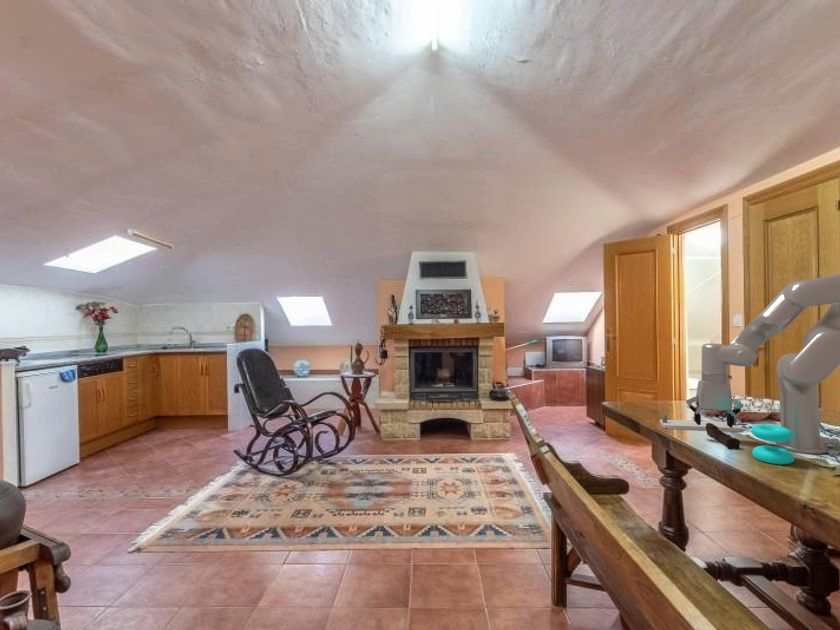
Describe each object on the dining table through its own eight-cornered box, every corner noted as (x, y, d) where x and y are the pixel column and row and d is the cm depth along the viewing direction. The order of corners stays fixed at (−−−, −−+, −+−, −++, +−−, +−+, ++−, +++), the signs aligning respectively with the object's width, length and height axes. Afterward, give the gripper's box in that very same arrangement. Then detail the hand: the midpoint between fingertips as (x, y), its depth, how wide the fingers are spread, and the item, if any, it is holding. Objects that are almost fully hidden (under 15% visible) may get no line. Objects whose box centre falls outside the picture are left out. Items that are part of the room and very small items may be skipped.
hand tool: (741, 450, 138) (740, 436, 138) (727, 449, 139) (726, 436, 139) (715, 434, 156) (715, 421, 156) (703, 433, 157) (703, 421, 157)
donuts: (801, 433, 122) (761, 432, 124) (802, 466, 122) (763, 465, 124) (781, 423, 131) (744, 423, 134) (782, 455, 131) (746, 453, 134)
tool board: (732, 425, 164) (732, 414, 164) (741, 432, 156) (741, 420, 156) (659, 423, 173) (659, 412, 173) (664, 428, 164) (664, 417, 164)
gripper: (738, 377, 149) (738, 424, 149) (683, 375, 154) (683, 420, 155) (747, 381, 142) (747, 430, 142) (689, 378, 147) (688, 426, 148)
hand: (713, 425), depth 148 cm, fingers open, 9 cm apart
